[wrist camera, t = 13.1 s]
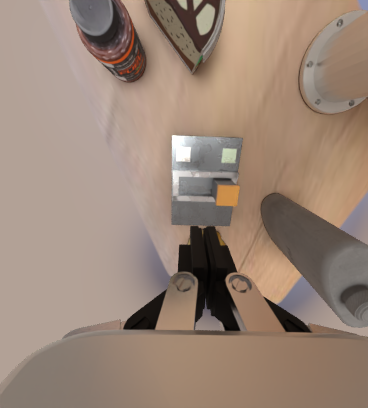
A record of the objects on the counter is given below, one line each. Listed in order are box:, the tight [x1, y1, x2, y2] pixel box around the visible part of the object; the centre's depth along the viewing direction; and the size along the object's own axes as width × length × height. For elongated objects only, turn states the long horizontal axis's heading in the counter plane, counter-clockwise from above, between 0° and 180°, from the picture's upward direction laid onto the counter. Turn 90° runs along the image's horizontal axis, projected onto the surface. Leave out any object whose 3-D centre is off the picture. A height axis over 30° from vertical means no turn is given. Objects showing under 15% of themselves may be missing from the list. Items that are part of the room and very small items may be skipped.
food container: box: [144, 0, 225, 74], centre depth 20 cm, size 12×6×10 cm, turn 42°
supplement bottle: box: [69, 0, 146, 82], centre depth 21 cm, size 6×6×11 cm
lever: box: [211, 178, 240, 206], centre depth 29 cm, size 3×3×6 cm
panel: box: [172, 135, 243, 226], centre depth 32 cm, size 12×17×3 cm
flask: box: [261, 193, 368, 328], centre depth 27 cm, size 15×6×20 cm, turn 31°
